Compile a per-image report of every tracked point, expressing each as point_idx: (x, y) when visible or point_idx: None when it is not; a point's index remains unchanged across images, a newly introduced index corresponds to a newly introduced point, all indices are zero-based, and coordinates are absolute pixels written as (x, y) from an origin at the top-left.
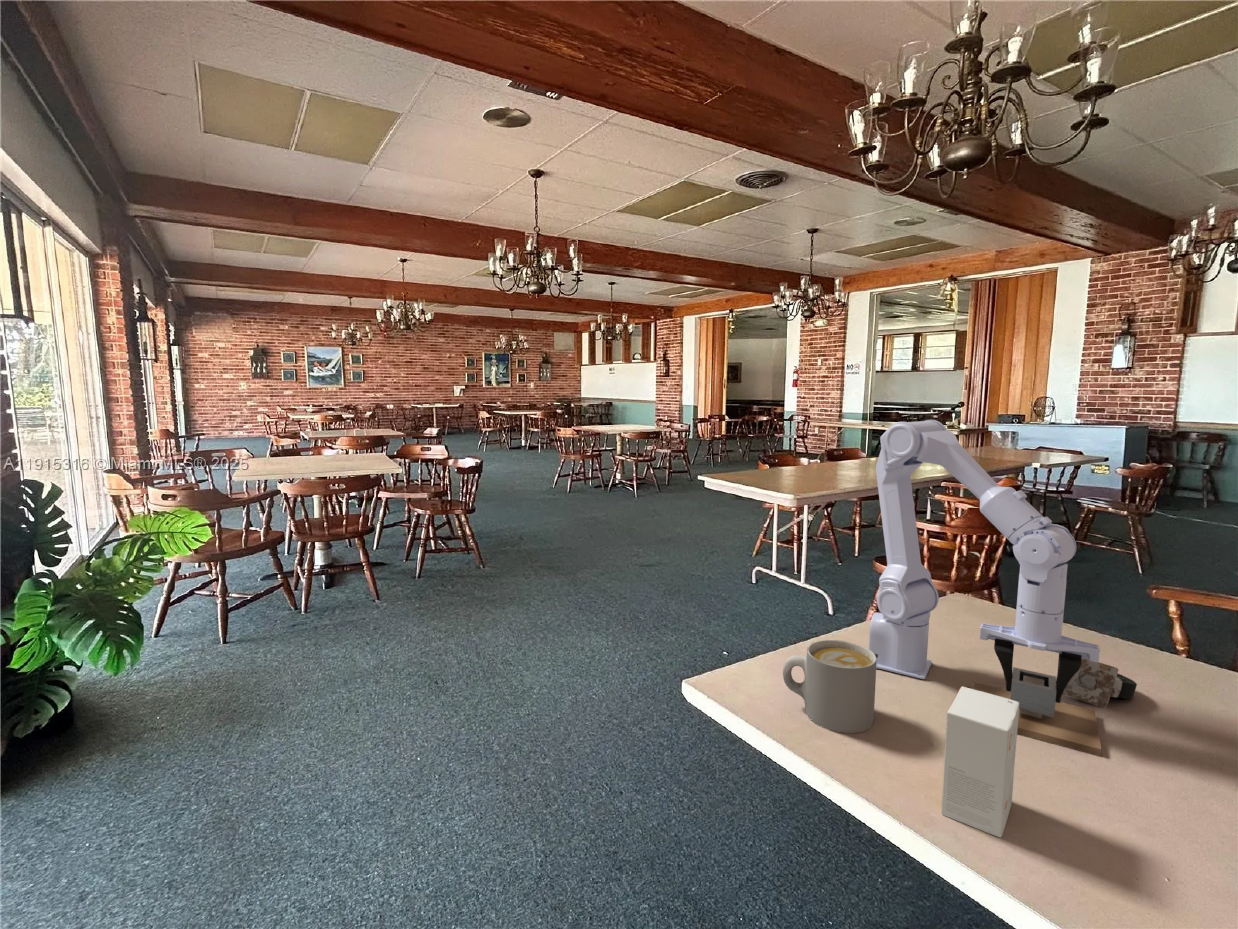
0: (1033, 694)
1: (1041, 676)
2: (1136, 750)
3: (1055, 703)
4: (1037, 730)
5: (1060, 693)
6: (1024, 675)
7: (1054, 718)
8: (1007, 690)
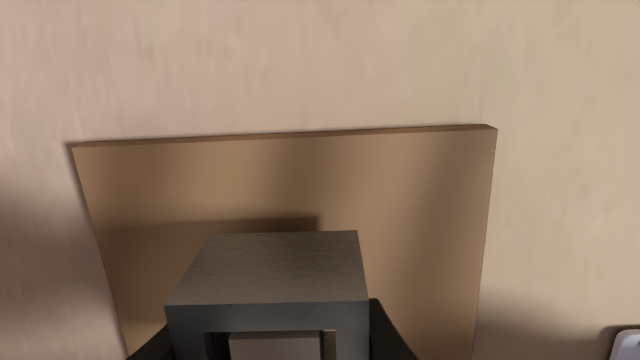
0: (270, 274)
1: None
2: (23, 243)
3: None
4: (259, 156)
5: (164, 328)
6: None
7: None
8: (375, 299)
